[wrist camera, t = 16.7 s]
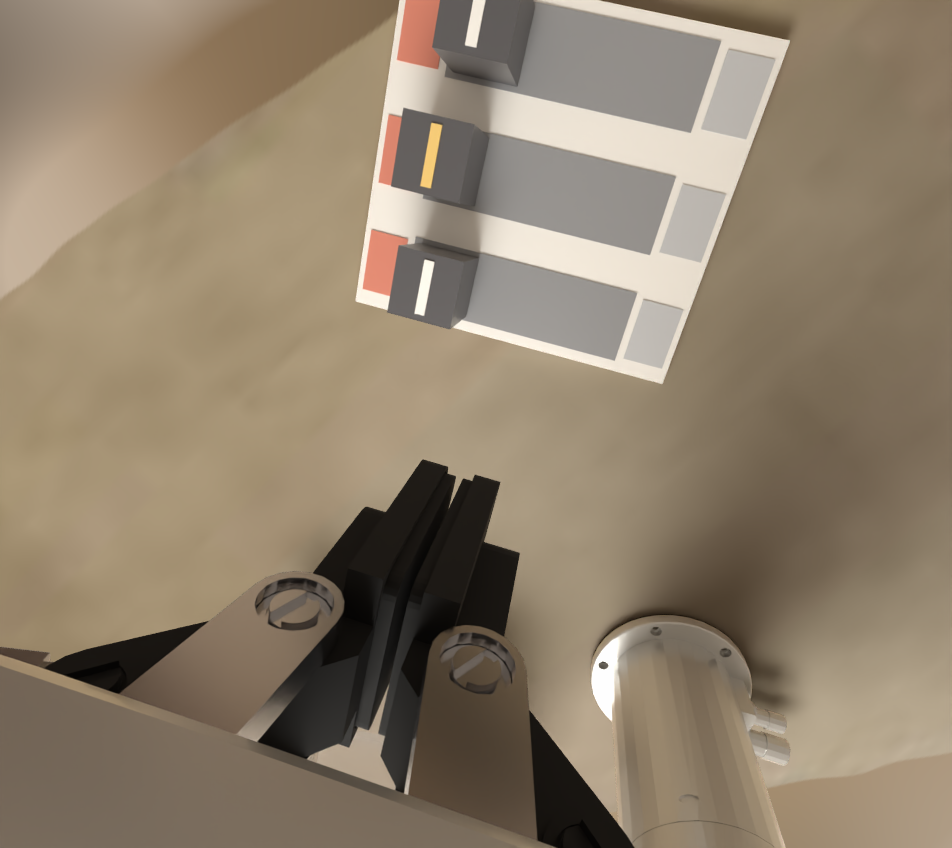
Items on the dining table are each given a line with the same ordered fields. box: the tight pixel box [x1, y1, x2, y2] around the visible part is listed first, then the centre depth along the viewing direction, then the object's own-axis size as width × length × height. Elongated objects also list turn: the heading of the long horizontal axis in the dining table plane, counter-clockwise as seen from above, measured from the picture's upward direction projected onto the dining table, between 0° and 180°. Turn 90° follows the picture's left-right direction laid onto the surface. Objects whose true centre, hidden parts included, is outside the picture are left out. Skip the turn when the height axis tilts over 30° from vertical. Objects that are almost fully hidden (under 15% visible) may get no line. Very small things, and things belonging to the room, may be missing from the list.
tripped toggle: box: [391, 108, 489, 206], centre depth 33 cm, size 4×4×5 cm
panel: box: [356, 0, 790, 384], centre depth 33 cm, size 22×20×6 cm
